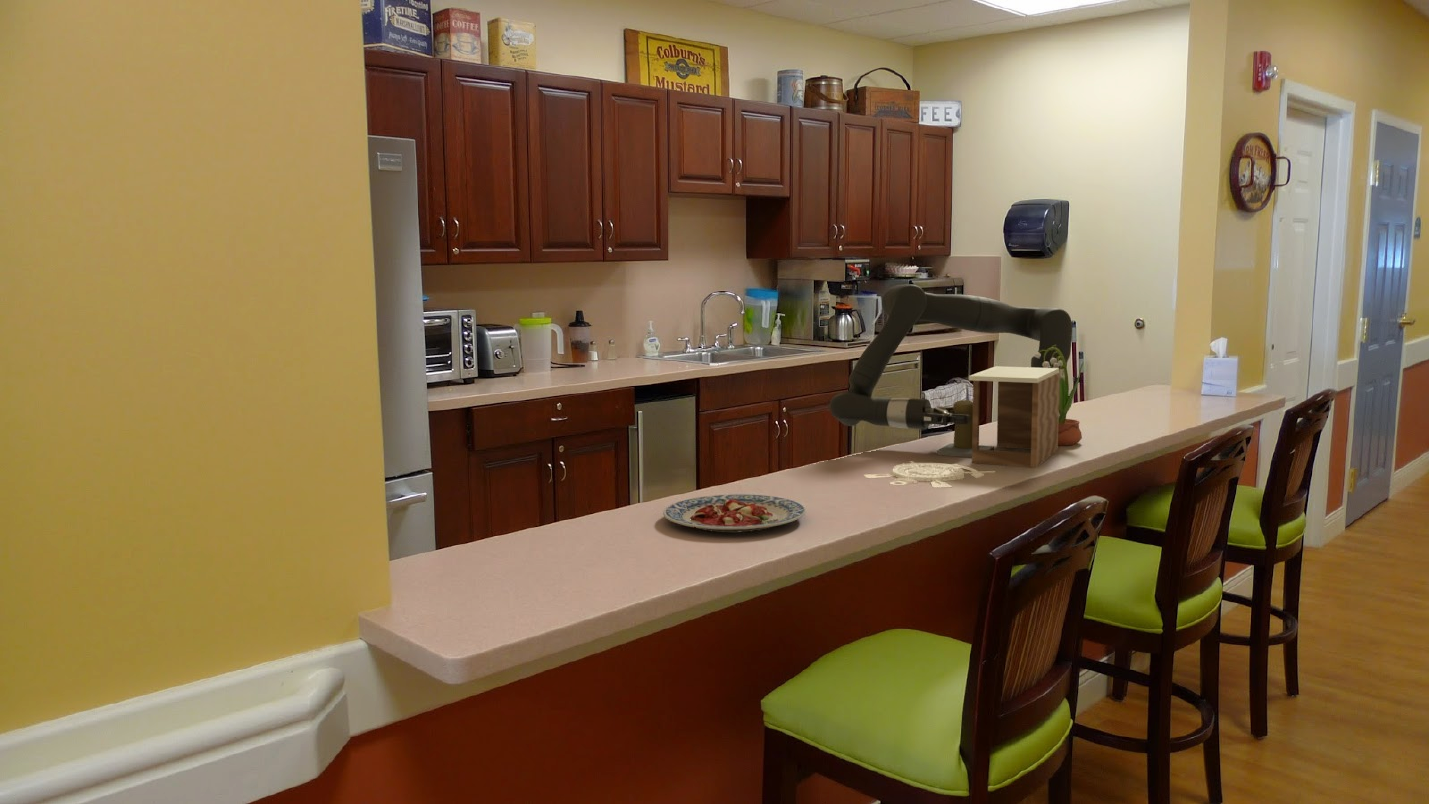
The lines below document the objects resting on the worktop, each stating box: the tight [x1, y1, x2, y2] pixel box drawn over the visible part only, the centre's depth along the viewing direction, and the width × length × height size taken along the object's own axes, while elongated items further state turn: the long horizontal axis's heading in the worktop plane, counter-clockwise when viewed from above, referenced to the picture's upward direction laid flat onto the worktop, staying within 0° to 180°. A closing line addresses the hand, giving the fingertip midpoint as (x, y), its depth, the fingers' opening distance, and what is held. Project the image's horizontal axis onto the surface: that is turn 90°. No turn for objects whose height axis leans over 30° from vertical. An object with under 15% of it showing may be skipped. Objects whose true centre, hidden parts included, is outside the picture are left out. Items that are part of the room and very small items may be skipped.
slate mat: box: [936, 443, 995, 458], centre depth 247 cm, size 11×11×1 cm
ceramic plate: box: [662, 493, 807, 533], centre depth 185 cm, size 26×26×3 cm
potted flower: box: [1034, 345, 1084, 446], centre depth 257 cm, size 12×10×25 cm
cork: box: [952, 399, 973, 448], centre depth 249 cm, size 6×6×11 cm
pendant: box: [863, 460, 996, 489], centre depth 223 cm, size 21×28×1 cm
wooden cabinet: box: [968, 365, 1060, 468], centre depth 241 cm, size 24×15×20 cm, turn 151°
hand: (974, 417), depth 245 cm, fingers open, 8 cm apart
